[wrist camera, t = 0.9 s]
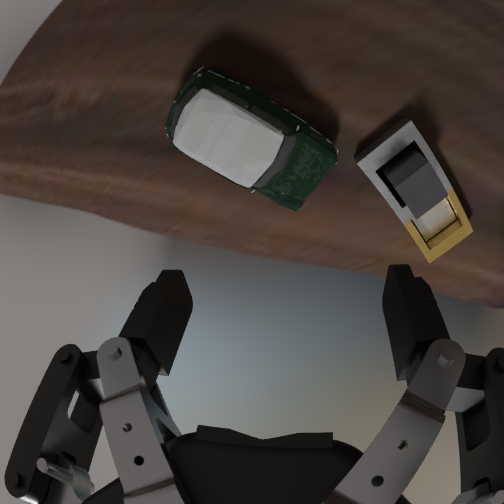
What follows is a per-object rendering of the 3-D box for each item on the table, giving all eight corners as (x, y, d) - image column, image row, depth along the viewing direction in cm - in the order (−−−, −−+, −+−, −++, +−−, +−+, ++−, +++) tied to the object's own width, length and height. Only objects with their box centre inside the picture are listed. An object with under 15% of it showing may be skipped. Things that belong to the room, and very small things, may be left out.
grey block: (407, 143, 29) (429, 161, 23) (426, 172, 30) (448, 195, 25) (378, 166, 31) (394, 188, 26) (398, 193, 32) (416, 219, 27)
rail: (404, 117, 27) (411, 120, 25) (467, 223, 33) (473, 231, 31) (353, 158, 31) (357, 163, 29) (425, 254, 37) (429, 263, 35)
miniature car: (297, 202, 35) (297, 238, 29) (168, 126, 32) (137, 144, 25) (342, 145, 30) (355, 168, 24) (203, 60, 27) (177, 60, 20)
